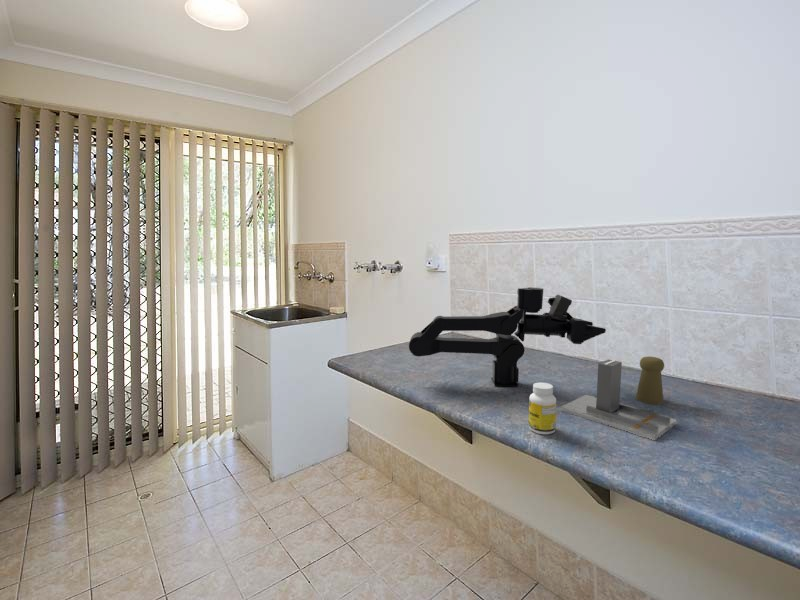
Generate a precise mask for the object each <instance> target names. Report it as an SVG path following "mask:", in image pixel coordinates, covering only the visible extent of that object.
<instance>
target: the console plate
mask: <svg viewBox="0 0 800 600" xmlns="http://www.w3.org/2000/svg"><path fill="white" fill-rule="evenodd" d="M596 399H597V396H592V395H589V394H585V395H583V396H580V397H578V398H576V399H574V400H571V401H569V402H568V403H565V404H564V405H561V407H560V409H561V411H562V412H565V413H567V414H570V415H575V416H577V417H580V418H583V419H587V420H590V421H593V422H596V423H599V424H601V423H602V425H605V426H608V425H609V426H608V427H611V426H612V427H611V428H614V427H615V428H614V429H617V428H618V430H620V429H622V430H621V431H623V430H625V431H624V432H626V431H628V432H627V433H629V432H630V434H632V433H633V434H634V435H635V434H636V436H639V437H642V438H645V437H646V438H645V439H648V438H649V440H651V439H652V441H654V440H655V441H657V440H658V439H659V438H660V437H661V435H662V436H663V435H664V434H665V433H666V432H668V431H669V430H671V429H672V428H673V427H675V425H677V419H676V418H671V416H668V415H664V414H661V413H657V412H653V411H651V410H650V411H649V410H646V409H644V408H643V409H642V408H639V407H635V406H631V405H627V404H624V403H621V402H619V408H618V409H617V410H615V411H613V412H608V411H605V410H602V409H598V408H596ZM658 437H659V438H658ZM657 438H658V439H657Z"/></svg>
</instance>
